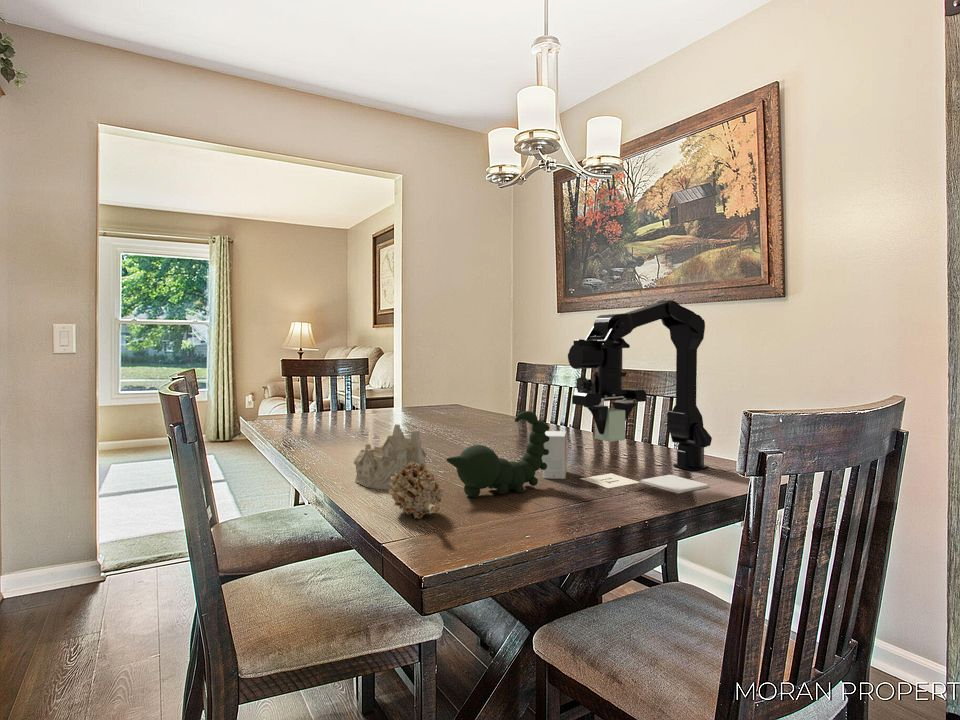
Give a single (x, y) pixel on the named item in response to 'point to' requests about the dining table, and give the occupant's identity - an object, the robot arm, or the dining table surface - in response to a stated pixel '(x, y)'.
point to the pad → (674, 483)
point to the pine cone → (416, 490)
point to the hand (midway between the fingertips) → (609, 433)
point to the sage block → (613, 426)
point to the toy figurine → (503, 463)
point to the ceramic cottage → (388, 459)
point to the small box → (555, 455)
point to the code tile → (609, 480)
